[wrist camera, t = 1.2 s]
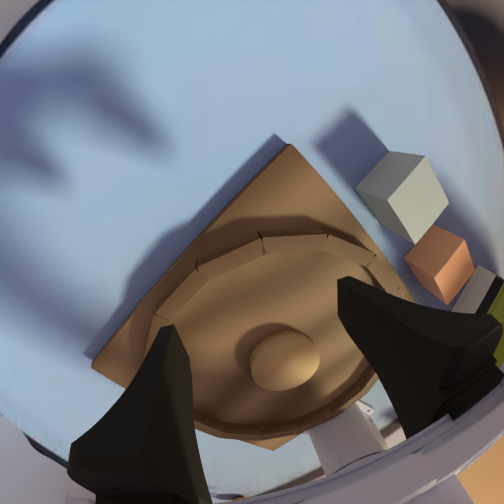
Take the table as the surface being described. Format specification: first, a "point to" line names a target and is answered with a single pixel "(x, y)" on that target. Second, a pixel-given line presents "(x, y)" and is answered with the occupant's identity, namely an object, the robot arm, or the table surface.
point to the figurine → (238, 498)
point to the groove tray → (263, 309)
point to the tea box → (484, 301)
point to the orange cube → (441, 263)
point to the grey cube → (403, 194)
